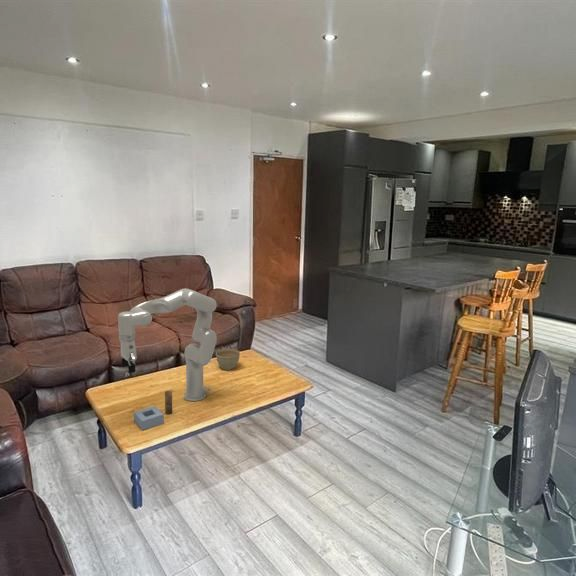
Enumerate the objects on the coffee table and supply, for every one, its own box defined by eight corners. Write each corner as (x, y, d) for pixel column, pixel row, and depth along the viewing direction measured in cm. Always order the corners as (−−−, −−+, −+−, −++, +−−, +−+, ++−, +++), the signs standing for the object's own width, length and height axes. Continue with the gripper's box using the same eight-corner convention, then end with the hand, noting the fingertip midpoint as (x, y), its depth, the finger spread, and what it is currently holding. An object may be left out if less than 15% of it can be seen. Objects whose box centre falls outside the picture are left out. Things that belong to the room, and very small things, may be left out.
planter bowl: (210, 367, 281) (210, 352, 278) (228, 361, 293) (228, 346, 291) (226, 374, 271) (226, 359, 268) (244, 367, 283) (244, 352, 281)
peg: (170, 410, 222) (170, 389, 219) (173, 413, 219) (173, 392, 217) (164, 412, 220) (163, 391, 217) (167, 415, 217) (166, 394, 215)
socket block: (155, 414, 217) (154, 405, 216) (163, 423, 209) (163, 414, 208) (134, 420, 210) (133, 411, 209) (142, 430, 202) (142, 421, 201)
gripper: (141, 340, 200) (142, 373, 203) (128, 330, 213) (130, 362, 216) (125, 343, 195) (126, 376, 198) (113, 333, 208) (115, 365, 211)
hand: (128, 369), depth 207 cm, fingers open, 9 cm apart
